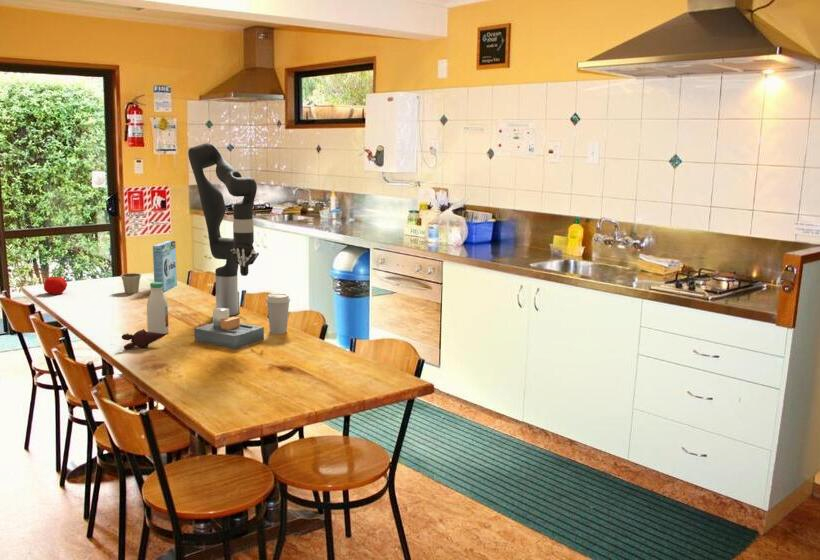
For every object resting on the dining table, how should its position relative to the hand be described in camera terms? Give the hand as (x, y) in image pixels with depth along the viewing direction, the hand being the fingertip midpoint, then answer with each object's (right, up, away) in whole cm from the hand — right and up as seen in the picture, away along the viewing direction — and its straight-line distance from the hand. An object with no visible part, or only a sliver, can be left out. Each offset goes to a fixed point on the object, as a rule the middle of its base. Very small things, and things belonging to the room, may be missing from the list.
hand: (244, 275), depth 286 cm
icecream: (-33, -26, -14) cm, 45 cm away
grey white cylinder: (-9, -24, -1) cm, 25 cm away
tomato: (-106, -8, +70) cm, 127 cm away
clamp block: (-5, -20, -4) cm, 21 cm away
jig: (-5, -25, -3) cm, 25 cm away
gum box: (-59, -6, +89) cm, 107 cm away
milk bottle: (-35, -23, +5) cm, 42 cm away
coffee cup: (+11, -23, +11) cm, 28 cm away
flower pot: (-72, -8, +78) cm, 106 cm away
